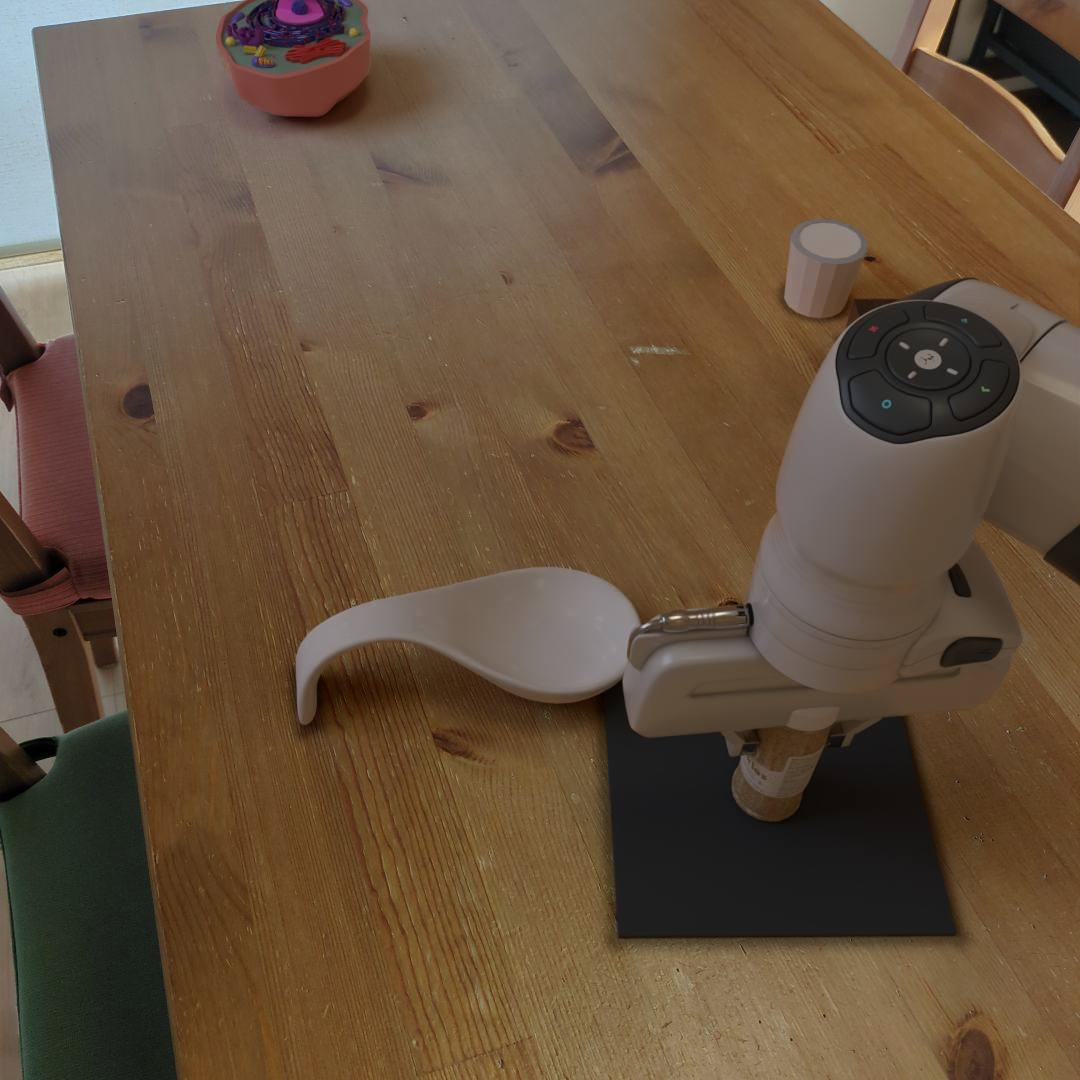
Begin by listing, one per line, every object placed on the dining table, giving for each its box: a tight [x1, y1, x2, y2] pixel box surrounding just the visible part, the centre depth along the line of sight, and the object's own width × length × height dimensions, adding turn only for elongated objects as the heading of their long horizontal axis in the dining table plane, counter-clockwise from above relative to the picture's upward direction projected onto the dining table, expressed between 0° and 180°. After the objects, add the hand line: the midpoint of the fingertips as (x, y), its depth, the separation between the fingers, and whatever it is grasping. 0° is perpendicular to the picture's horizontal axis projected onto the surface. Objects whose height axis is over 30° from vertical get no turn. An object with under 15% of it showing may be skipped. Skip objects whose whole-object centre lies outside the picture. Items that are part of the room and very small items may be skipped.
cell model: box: [215, 0, 372, 118], centre depth 122 cm, size 17×20×11 cm
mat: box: [603, 679, 958, 939], centre depth 71 cm, size 20×18×1 cm
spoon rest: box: [295, 566, 642, 726], centre depth 74 cm, size 24×12×7 cm, turn 102°
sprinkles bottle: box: [732, 706, 840, 822], centre depth 66 cm, size 5×5×14 cm
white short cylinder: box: [784, 218, 869, 319], centre depth 102 cm, size 7×7×7 cm
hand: (785, 741), depth 66 cm, fingers closed on sprinkles bottle, 4 cm apart
